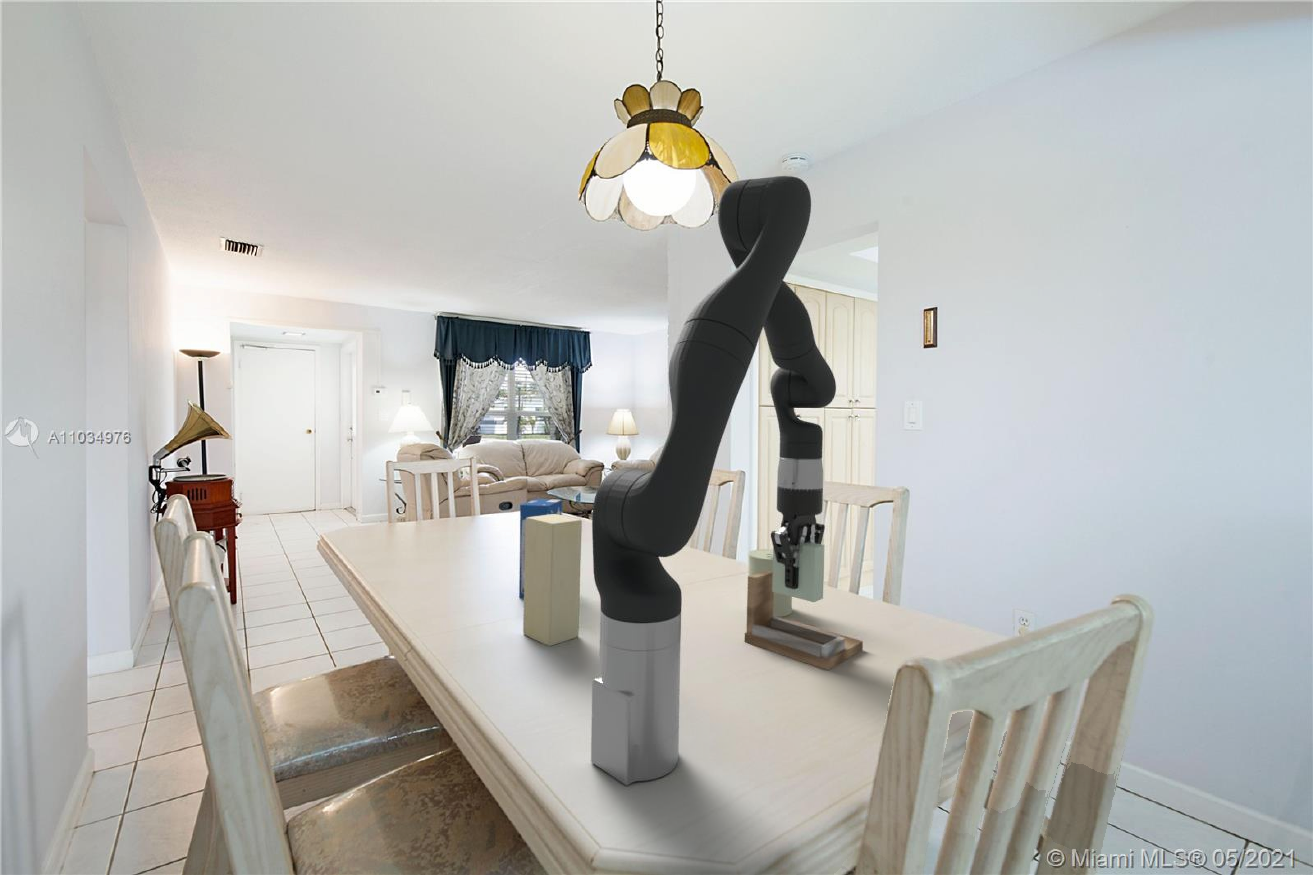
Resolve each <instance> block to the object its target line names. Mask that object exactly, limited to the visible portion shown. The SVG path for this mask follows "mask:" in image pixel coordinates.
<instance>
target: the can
mask: <svg viewBox="0 0 1313 875" xmlns="http://www.w3.org/2000/svg"><path fill="white" fill-rule="evenodd" d="M764 571H772V572H773V549H767V548H766V549H761V548H760V549H753V550H751V551H749V552H748V576H751V575H754V574H757V573H761V572H764ZM748 576H747V577H748ZM792 604H793V597H791V596H787V595H784V594H780V593H776V592H774V605H773V617H778V618H785V617H788V616H789V614H790V615H791V614H792V613H793V605H792ZM787 615H788V616H787Z"/></svg>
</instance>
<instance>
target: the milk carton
mask: <svg viewBox="0 0 1313 875" xmlns="http://www.w3.org/2000/svg"><path fill="white" fill-rule="evenodd" d="M519 512H520V513H519V514H520V515H519V519H520V520H519V528H520V529H519V580H518V581H519V583H518V584H519V588H518V590H519V595H518V596H519V599H524V575H525V535H526V518H527V517H534V516H542V515H550V514H558V515H562V516H563V499H555V498H554V499H553V498H552V499H551V498H534V499H532V500H528V501H526V502H523V503H522V504H520V507H519Z"/></svg>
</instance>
